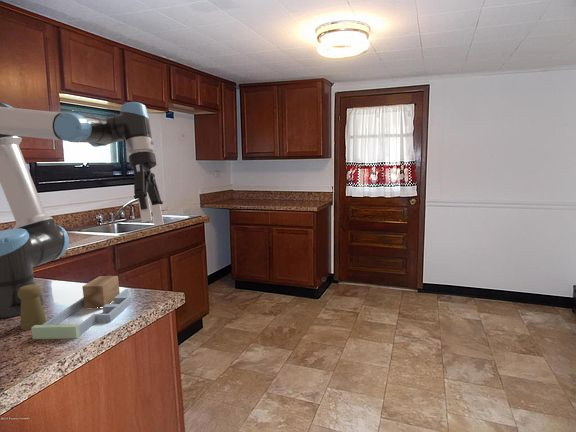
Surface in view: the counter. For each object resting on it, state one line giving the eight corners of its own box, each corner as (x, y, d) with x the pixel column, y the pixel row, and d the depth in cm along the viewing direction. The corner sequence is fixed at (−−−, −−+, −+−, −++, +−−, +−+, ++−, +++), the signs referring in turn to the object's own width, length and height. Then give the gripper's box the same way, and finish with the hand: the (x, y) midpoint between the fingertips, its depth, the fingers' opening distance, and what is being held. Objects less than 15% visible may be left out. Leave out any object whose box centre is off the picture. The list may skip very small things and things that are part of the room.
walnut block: (84, 309, 115) (82, 286, 114) (101, 297, 125) (99, 276, 124) (104, 308, 115) (102, 286, 114) (119, 296, 125) (118, 275, 123)
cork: (33, 330, 100) (28, 290, 99) (14, 329, 102) (8, 289, 100) (52, 320, 106) (47, 282, 105) (33, 319, 108) (28, 281, 106)
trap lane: (32, 339, 95) (31, 327, 95) (95, 295, 126) (94, 286, 125) (92, 338, 95) (91, 326, 95) (141, 294, 125) (140, 285, 125)
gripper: (142, 139, 104) (155, 216, 102) (164, 162, 129) (175, 224, 127) (113, 144, 103) (126, 222, 101) (141, 166, 128) (151, 228, 126)
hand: (153, 223), depth 114 cm, fingers open, 13 cm apart
